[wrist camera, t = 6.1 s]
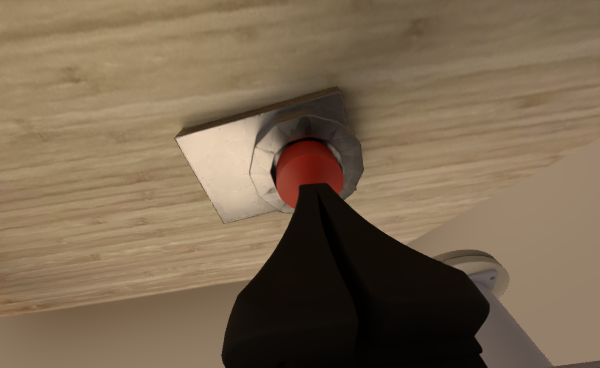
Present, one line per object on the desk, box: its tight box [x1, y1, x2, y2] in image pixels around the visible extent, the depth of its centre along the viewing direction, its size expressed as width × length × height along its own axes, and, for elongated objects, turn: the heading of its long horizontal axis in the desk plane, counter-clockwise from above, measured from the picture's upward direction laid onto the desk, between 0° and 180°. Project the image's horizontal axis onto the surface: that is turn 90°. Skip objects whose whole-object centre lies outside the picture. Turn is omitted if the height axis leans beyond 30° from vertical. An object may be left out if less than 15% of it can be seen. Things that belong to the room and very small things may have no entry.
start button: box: [276, 141, 344, 209], centre depth 13 cm, size 4×4×2 cm
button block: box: [175, 86, 364, 224], centre depth 15 cm, size 10×7×3 cm
